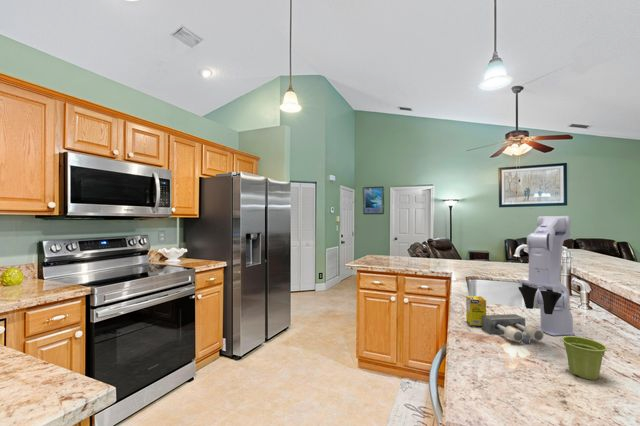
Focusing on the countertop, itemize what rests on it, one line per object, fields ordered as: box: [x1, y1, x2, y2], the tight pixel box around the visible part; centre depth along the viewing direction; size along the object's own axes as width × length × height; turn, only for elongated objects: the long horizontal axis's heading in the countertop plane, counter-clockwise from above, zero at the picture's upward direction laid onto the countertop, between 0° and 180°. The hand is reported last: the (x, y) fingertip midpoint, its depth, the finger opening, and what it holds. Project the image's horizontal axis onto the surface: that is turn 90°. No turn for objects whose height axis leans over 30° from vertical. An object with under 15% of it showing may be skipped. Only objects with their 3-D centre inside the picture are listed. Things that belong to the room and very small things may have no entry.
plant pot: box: [561, 335, 608, 380], centre depth 83 cm, size 9×9×9 cm
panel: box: [481, 313, 526, 336], centre depth 115 cm, size 14×5×6 cm, turn 96°
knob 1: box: [495, 323, 523, 343], centre depth 108 cm, size 4×10×4 cm, turn 6°
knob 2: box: [514, 323, 545, 342], centre depth 108 cm, size 4×10×4 cm, turn 6°
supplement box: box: [465, 295, 487, 329], centre depth 122 cm, size 6×6×11 cm
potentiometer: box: [519, 332, 531, 345], centre depth 104 cm, size 4×3×4 cm
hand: (538, 311), depth 99 cm, fingers open, 7 cm apart
